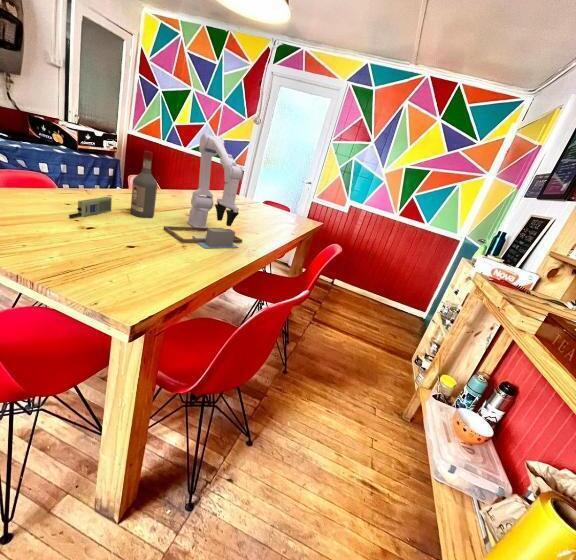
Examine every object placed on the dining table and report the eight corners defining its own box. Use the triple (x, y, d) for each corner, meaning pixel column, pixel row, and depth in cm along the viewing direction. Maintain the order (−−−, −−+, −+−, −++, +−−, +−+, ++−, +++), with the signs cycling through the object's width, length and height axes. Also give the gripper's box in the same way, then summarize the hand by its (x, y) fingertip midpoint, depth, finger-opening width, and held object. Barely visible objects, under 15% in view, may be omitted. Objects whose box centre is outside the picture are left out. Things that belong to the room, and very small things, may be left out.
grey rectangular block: (204, 243, 141) (207, 228, 139) (227, 243, 150) (230, 229, 147) (209, 246, 139) (212, 231, 136) (232, 246, 147) (235, 232, 145)
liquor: (145, 212, 163) (151, 151, 152) (156, 218, 159) (163, 155, 148) (128, 212, 156) (133, 147, 145) (138, 218, 151) (145, 152, 141)
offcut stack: (191, 238, 146) (192, 234, 146) (220, 239, 156) (221, 236, 156) (195, 241, 143) (196, 238, 143) (225, 242, 153) (225, 239, 153)
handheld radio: (112, 211, 150) (74, 220, 127) (105, 210, 151) (66, 218, 127) (113, 197, 148) (74, 203, 125) (106, 196, 148) (65, 201, 125)
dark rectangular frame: (163, 229, 145) (163, 226, 145) (222, 231, 168) (222, 228, 168) (181, 243, 135) (182, 239, 134) (241, 242, 158) (242, 239, 158)
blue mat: (197, 243, 140) (197, 242, 140) (231, 243, 153) (231, 242, 153) (204, 248, 136) (204, 247, 136) (238, 248, 149) (238, 247, 149)
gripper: (213, 188, 143) (208, 217, 148) (231, 197, 135) (225, 228, 140) (226, 190, 149) (220, 218, 153) (244, 198, 140) (238, 228, 145)
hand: (223, 223), depth 147 cm, fingers open, 7 cm apart
